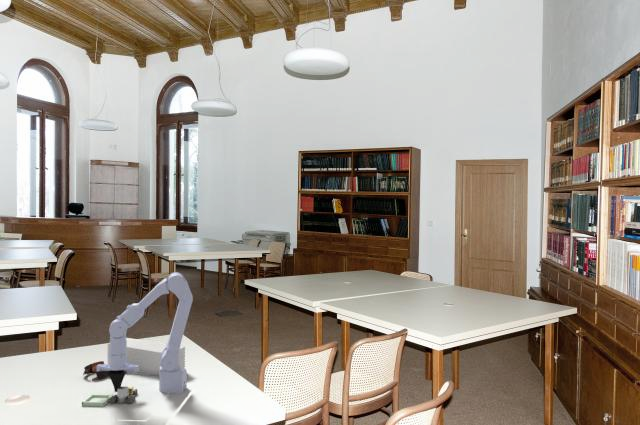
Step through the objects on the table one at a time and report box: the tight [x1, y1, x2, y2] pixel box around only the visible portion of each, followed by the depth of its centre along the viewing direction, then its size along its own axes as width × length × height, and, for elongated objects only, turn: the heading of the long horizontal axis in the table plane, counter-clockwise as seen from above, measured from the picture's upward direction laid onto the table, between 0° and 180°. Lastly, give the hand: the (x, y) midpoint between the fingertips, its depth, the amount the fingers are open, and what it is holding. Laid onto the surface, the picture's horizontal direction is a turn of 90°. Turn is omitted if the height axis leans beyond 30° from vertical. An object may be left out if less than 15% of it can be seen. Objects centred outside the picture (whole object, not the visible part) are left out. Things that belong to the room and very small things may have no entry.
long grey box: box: [106, 337, 186, 376], centre depth 203 cm, size 32×11×11 cm, turn 67°
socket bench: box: [109, 388, 138, 405], centre depth 170 cm, size 18×17×3 cm
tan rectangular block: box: [121, 385, 134, 396], centre depth 173 cm, size 4×2×2 cm, turn 89°
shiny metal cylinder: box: [116, 386, 130, 405], centre depth 166 cm, size 4×4×5 cm
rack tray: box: [81, 393, 114, 407], centre depth 166 cm, size 8×7×2 cm
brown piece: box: [83, 360, 110, 381], centre depth 192 cm, size 12×10×8 cm
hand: (117, 391), depth 173 cm, fingers closed
